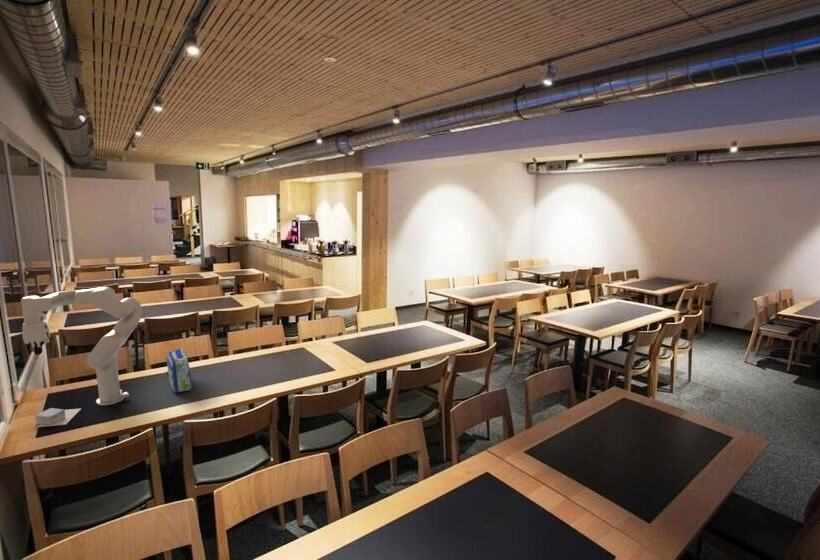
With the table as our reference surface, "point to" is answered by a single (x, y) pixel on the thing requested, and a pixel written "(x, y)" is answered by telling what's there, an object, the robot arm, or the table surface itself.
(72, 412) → the mat
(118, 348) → the robot arm
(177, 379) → the lunch box
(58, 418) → the medicine box
